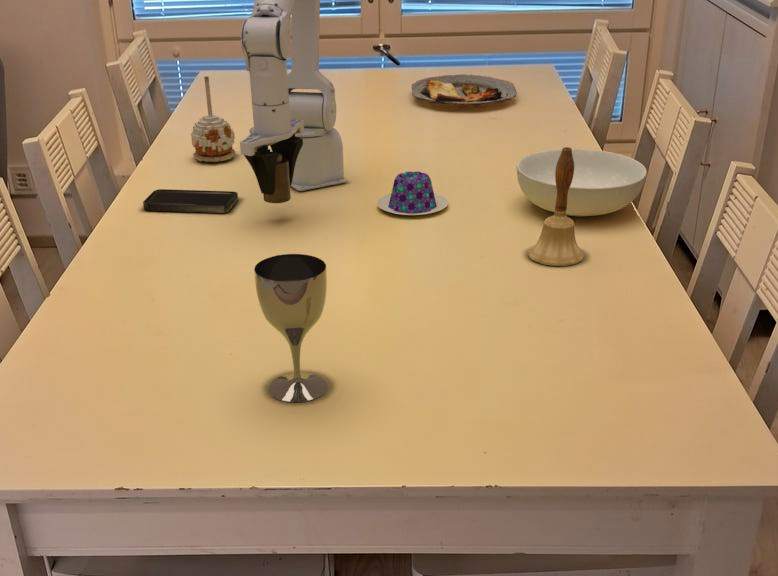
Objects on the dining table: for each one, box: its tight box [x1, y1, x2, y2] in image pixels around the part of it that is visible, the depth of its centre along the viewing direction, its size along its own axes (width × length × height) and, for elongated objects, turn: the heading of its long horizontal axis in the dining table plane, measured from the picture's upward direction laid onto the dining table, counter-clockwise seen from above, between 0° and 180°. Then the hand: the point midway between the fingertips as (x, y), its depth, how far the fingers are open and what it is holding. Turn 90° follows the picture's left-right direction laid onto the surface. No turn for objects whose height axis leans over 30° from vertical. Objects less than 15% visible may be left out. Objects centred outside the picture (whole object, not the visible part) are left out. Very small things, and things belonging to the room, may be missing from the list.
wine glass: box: [253, 253, 329, 403], centre depth 117 cm, size 8×8×15 cm
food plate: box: [411, 73, 518, 107], centre depth 230 cm, size 25×23×4 cm
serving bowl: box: [516, 148, 648, 218], centre depth 168 cm, size 21×21×7 cm
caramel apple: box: [190, 75, 236, 163], centre depth 193 cm, size 8×8×15 cm
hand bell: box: [527, 146, 585, 267], centre depth 149 cm, size 8×8×16 cm
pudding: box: [376, 171, 449, 216], centre depth 171 cm, size 12×12×5 cm
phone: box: [142, 188, 239, 214], centre depth 175 cm, size 8×1×15 cm
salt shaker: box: [262, 154, 292, 204], centre depth 164 cm, size 4×4×7 cm
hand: (276, 188), depth 165 cm, fingers closed on salt shaker, 4 cm apart
